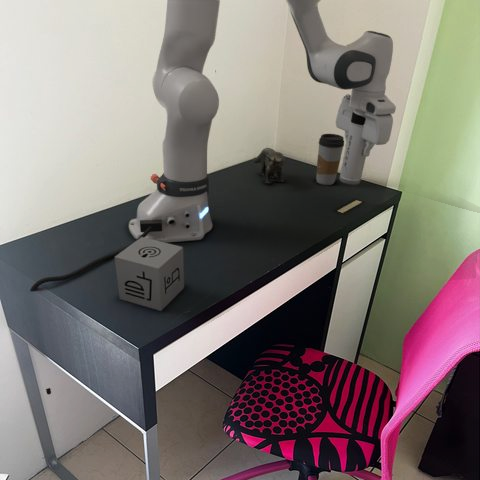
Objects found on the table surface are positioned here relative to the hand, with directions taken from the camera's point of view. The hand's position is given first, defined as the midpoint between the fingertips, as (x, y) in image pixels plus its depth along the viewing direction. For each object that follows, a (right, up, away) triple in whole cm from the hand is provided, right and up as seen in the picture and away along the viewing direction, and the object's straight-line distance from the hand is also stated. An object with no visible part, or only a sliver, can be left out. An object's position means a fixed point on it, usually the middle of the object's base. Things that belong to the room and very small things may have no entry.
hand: (356, 152), depth 139 cm
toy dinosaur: (-24, 0, +26) cm, 35 cm away
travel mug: (-1, -7, +5) cm, 9 cm away
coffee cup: (-5, -1, +26) cm, 26 cm away
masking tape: (0, -14, +9) cm, 16 cm away
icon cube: (-53, -43, -35) cm, 77 cm away
